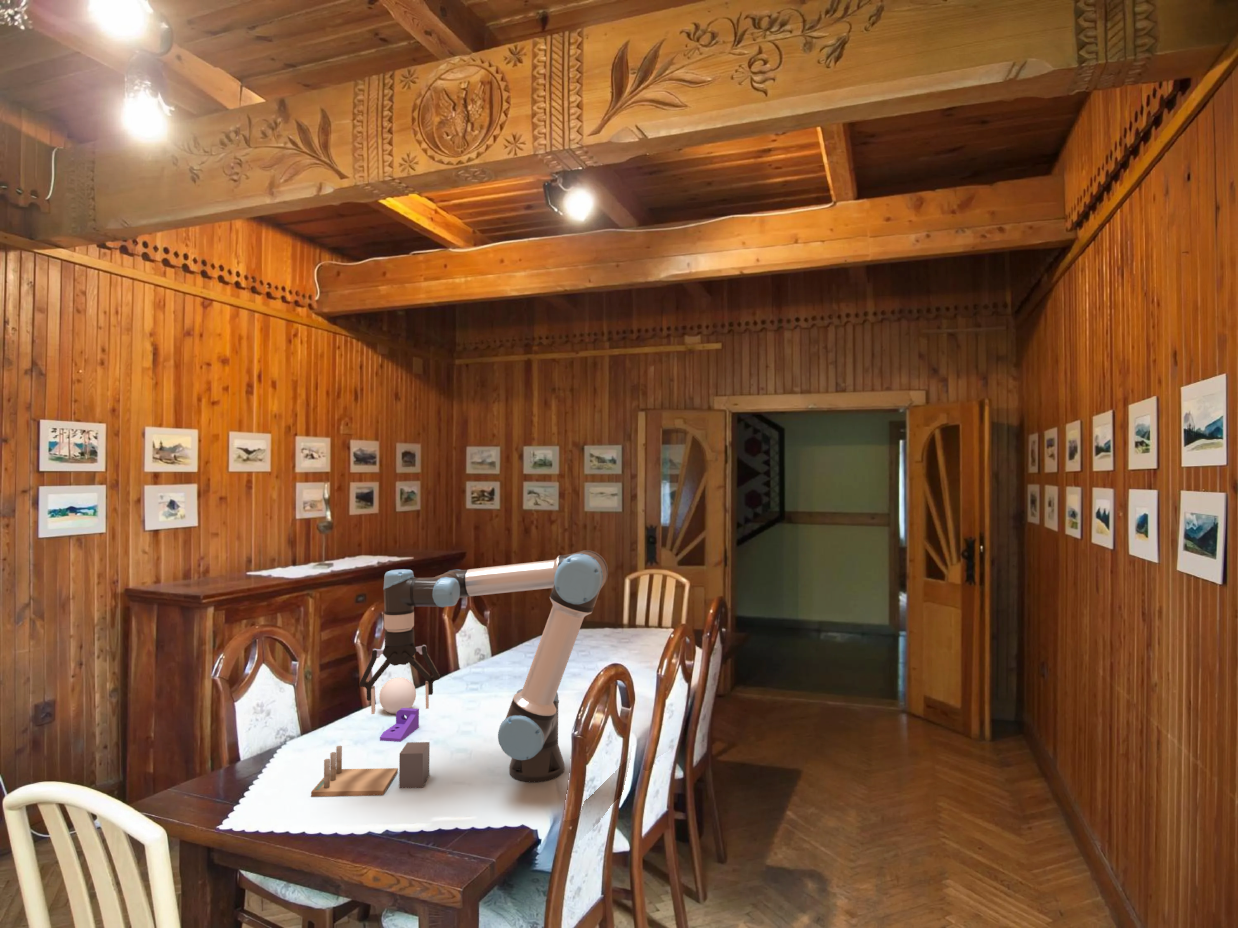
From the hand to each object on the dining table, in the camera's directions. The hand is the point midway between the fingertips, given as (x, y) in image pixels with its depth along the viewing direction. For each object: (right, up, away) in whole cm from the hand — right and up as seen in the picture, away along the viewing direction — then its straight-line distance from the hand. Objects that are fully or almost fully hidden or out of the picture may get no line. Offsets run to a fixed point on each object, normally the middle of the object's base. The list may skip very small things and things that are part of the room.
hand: (400, 709), depth 189 cm
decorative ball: (-18, -21, +57) cm, 63 cm away
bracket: (-11, -21, +36) cm, 43 cm away
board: (-12, -20, 0) cm, 23 cm away
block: (+3, -20, +2) cm, 20 cm away
